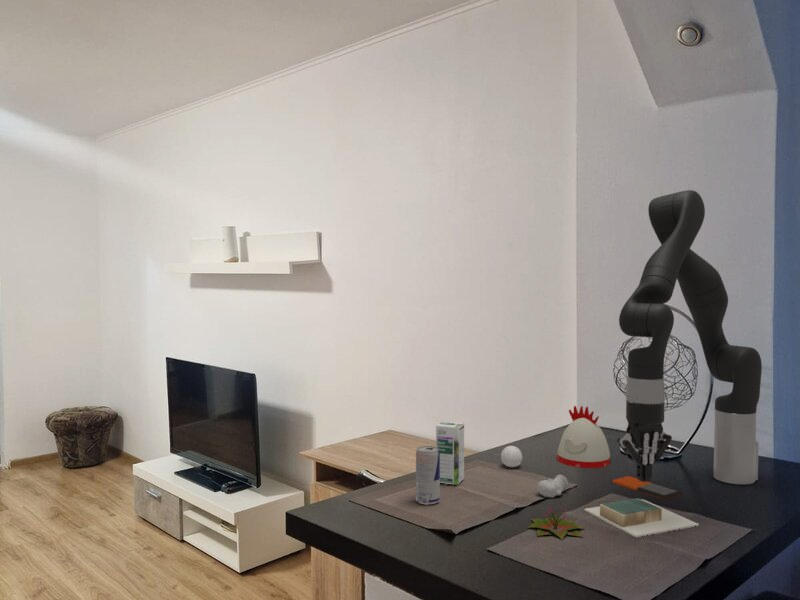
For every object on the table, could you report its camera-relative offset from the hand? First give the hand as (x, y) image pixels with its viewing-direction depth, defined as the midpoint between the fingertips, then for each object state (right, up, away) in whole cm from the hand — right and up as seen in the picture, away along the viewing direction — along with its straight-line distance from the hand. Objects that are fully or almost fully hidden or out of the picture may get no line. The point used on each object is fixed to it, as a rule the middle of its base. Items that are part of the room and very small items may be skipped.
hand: (644, 480), depth 141 cm
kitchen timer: (-1, -6, +43) cm, 43 cm away
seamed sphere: (-23, -7, +38) cm, 44 cm away
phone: (+7, -8, +19) cm, 22 cm away
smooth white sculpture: (-15, -8, +15) cm, 23 cm away
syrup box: (-39, -7, +25) cm, 46 cm away
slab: (+1, -6, +1) cm, 6 cm away
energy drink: (-45, -8, +10) cm, 47 cm away
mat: (-1, -8, 0) cm, 8 cm away
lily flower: (-20, -9, -6) cm, 22 cm away
